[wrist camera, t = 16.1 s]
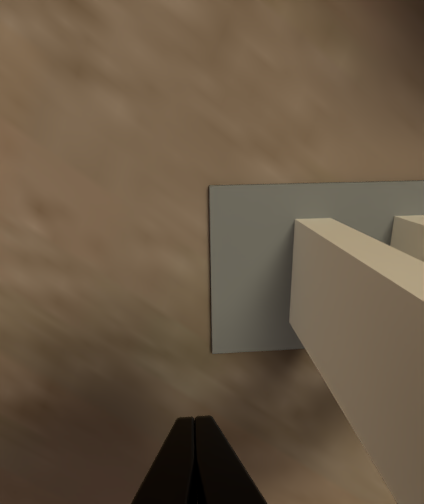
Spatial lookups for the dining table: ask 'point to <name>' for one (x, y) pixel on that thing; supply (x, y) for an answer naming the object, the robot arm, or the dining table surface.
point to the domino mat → (282, 249)
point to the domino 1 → (366, 341)
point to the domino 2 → (409, 235)
